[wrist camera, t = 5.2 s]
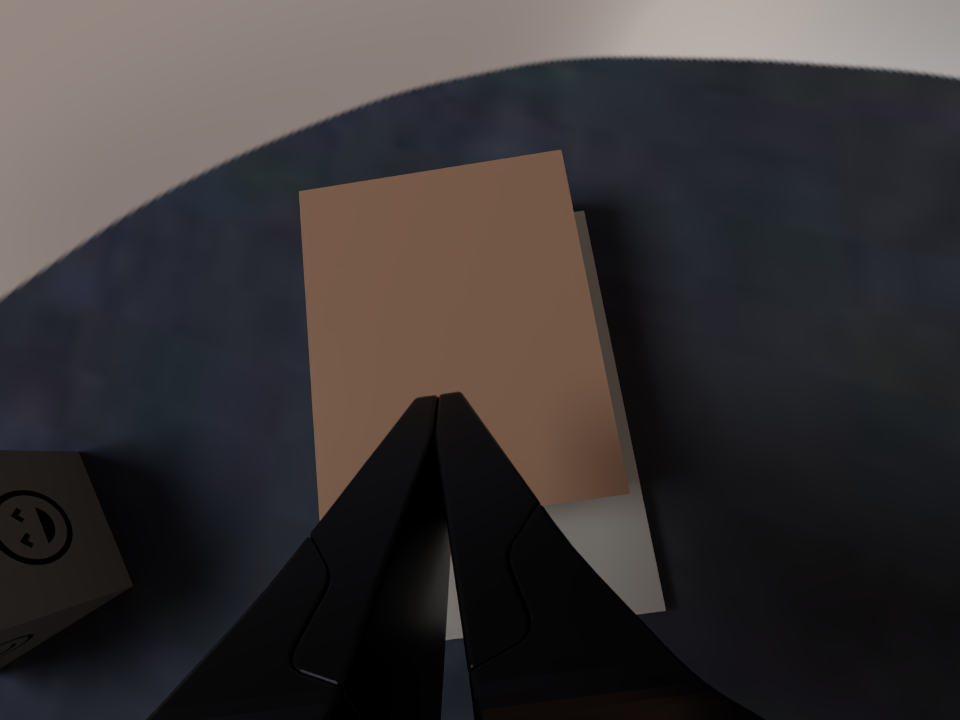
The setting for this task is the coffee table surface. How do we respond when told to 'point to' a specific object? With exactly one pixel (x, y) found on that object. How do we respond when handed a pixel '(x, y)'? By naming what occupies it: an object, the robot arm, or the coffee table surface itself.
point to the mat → (603, 499)
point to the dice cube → (51, 549)
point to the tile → (458, 320)
